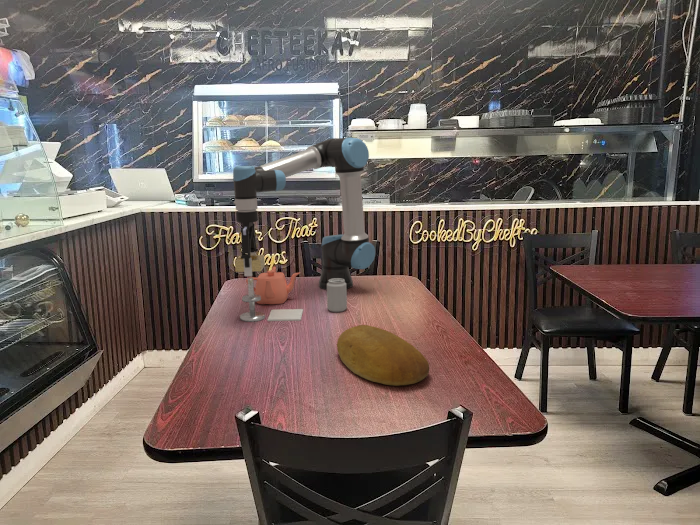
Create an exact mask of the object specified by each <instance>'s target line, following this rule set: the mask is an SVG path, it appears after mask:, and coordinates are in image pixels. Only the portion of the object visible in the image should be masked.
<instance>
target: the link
mask: <svg viewBox="0 0 700 525" xmlns="http://www.w3.org/2000/svg"><path fill="white" fill-rule="evenodd" d="M241 256H242V254H241V255H239V256H238V257H237V258H236V259H235V260H234V267H235V269H234V270H235V272H236V273H240V272H241V273H244V262H243V258H241ZM250 256H251V257H250V258H251V261H252V272H262V271H263V269H264V268H265V267H266V266H265V264H266V263H265V261H266V260H265V254H256V255H250Z"/></svg>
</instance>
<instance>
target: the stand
mask: <svg viewBox="0 0 700 525" xmlns="http://www.w3.org/2000/svg"><path fill="white" fill-rule="evenodd" d="M247 278H248V285H247V288H248V292H247V293H248V294H246V295H243V296H242V297H241V301H242V302H244V303H248V306H249V307H248V308H249V310H248V311H247V312H243V313H241V314H240V315H239V320H241V321H242V322H245V323H248V322H249V323H252V322H253V323H255V322H259V321H263V320H265V318H266V314H265V313H264V312H262V311H256V306H255V305H256V303H257V301H260V300H261V296H260V295H255V292H254V288H255V286H254V280H253V278H250V277H247ZM255 302H256V303H255ZM254 321H255V322H254Z"/></svg>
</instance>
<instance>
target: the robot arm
mask: <svg viewBox="0 0 700 525" xmlns="http://www.w3.org/2000/svg"><path fill="white" fill-rule="evenodd" d="M369 153H370V152H369V149H368V146H367V144H366V143H365V142H364V141H363V140H362V139H360V138H357V137H349V136H348V137H342V138H340V137H339V138H338V137H337V138H336V137H334V138H329V139H326V140H323V141H321V142H318V143H315V144H313V145H309V146H307V148H306V149H305V150H303V151H299V152H297V153H294V154H292V155H288V156H284V157H282V158H279V159H277V160H273V161H270V162H267V163H264V164H262V165H259V166H254V165H239V166H234V168H233V170H232V171H233V173H232V175H233V176H232V180H233V190H234V201H233V204H234V205H235V210H236V211H235V218H236V219H235V220H236V222H237V223H239V224H241V223H242V227H241V229H240V233H241V234H240V236H241V237H240V238H241V240H240V241H241V255H242V256H241V258H243V262H244V272H243V273H244V274H243V275H244V277H254V276H253V271H252V261H251V258H250V257H251V256H250V255H257V252H259V250H258V248H257V238H256V233H255V231H256V229H255V225H256V224H255V223H256V222H258V221H259V214H258V213H259V212H258V197H257V193H266V192H277V191H282V190H284V189H285V187H286V183H287V181H286V180H287V179H286V178H289V177H291V176H295V175H296V174H300V173H302V172H304V171H308V170H311V169H314V170H318V169H321V168H328V167H329V168H330V167H332V168H334V171H335V174H336V175H337V176H338V177H339V183H340V184H339V186H340V196H341V197H340V198H341V208H342V210H341V211H342V221H343V222H342V223H343V232H344V233H343V234H333V235H326V236H323V237H322V241H321V258H322V260H321V261H322V262H321V263H322V264H321V265H322V270H321V273H320V276H319V280H318V281H319V282H318V287H319V288H320V289H322V290H327V283H328V282H329V281H328V280H329V279H333V278H341V279H344V280H345V281H344V282H345V283H346V288H347V290H348V289H350V288H352V287H354V286H353V284H354V283H353V282H354V281H353V278H352V275H351V273H350V269H349V268H353V270H354V269H355V270H364V269H365V270H366V269H367V268H369V267H370V266H371V265H372V264H373V262H374V260H375V259H376V258H375V257H376V248H375V245H374V244H373V243H372V242H370V238H369V235H368V234H367V233H366V232H365V231H366V230H365V218H364V206H363V205H364V204H363V191H362V188H363V187H362V177H361V175H362V174H363V173H364V172H365V166H366V165H367V164H368V162H369V158H370V154H369Z"/></svg>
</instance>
